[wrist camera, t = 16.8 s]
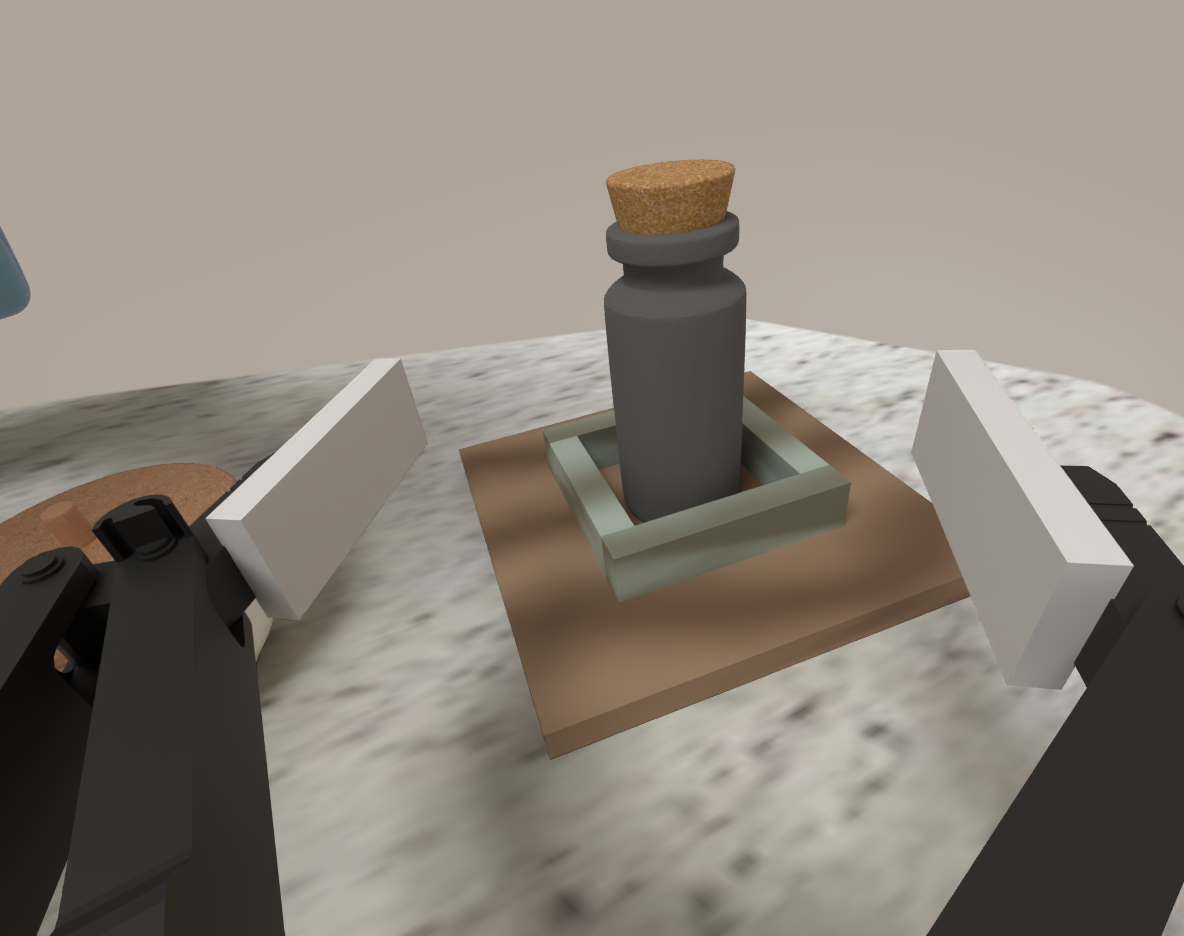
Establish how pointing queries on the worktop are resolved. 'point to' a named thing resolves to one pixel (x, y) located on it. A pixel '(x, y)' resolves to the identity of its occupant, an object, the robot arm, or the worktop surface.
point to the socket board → (695, 565)
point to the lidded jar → (84, 505)
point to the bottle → (675, 336)
